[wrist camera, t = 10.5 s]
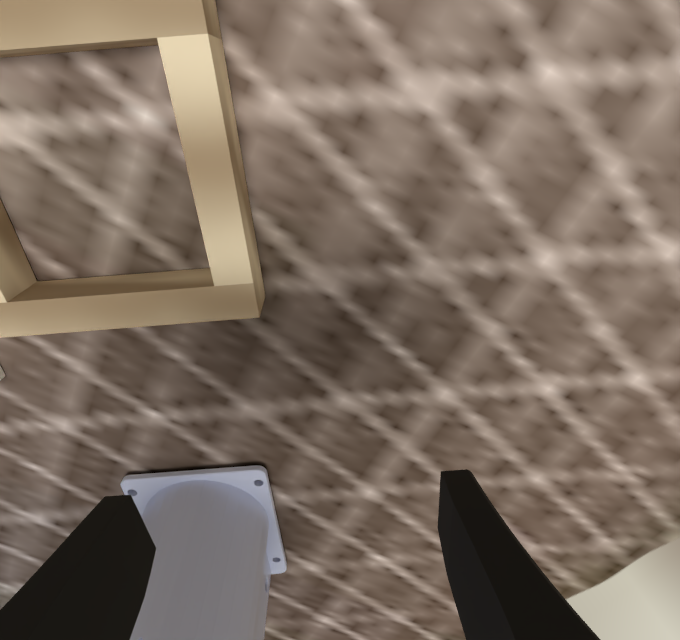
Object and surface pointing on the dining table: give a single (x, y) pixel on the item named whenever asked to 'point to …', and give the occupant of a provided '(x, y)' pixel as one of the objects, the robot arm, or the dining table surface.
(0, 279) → the wooden square frame
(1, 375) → the tray
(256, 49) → the dining table surface
